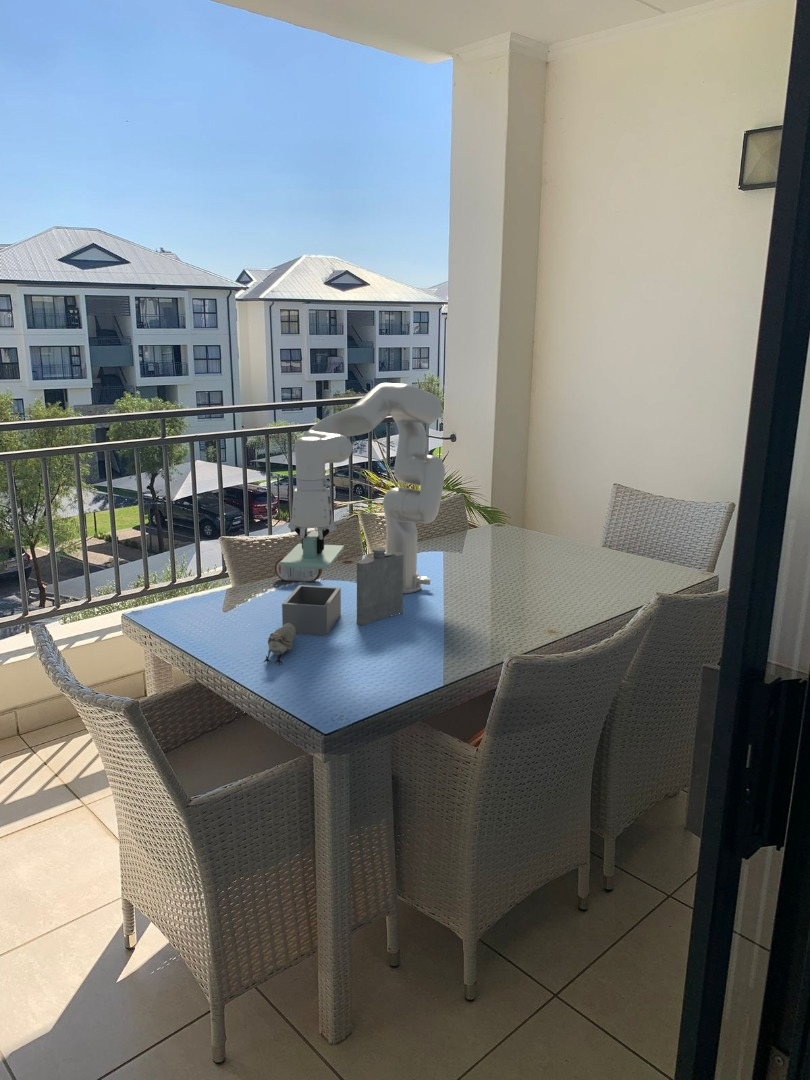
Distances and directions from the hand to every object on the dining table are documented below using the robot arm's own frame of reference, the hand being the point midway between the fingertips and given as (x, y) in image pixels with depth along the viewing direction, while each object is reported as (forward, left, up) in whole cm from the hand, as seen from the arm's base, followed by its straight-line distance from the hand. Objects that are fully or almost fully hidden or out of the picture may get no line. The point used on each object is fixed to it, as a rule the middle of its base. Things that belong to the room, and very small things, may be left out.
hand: (313, 551), depth 210 cm
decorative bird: (+2, +22, -21) cm, 30 cm away
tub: (0, +1, -20) cm, 20 cm away
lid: (0, 0, -3) cm, 3 cm away
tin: (+14, -34, -21) cm, 43 cm away
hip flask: (-17, -7, -21) cm, 27 cm away
